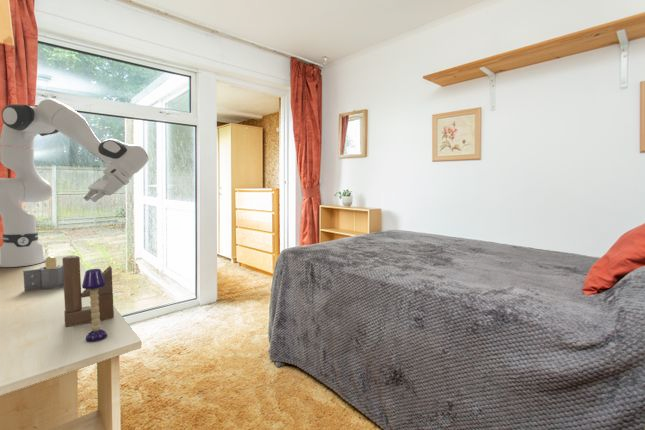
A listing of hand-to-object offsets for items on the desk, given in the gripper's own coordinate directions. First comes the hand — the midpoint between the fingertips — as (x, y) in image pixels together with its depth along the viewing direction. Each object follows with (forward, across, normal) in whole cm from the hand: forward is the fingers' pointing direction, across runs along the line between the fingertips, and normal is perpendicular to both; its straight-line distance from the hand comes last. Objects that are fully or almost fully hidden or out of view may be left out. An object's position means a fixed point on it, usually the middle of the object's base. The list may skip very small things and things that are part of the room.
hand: (88, 200), depth 132 cm
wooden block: (+31, +52, +12) cm, 61 cm away
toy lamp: (+32, +65, +10) cm, 73 cm away
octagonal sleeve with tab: (+31, +7, +12) cm, 34 cm away
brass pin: (+31, +6, +12) cm, 34 cm away
